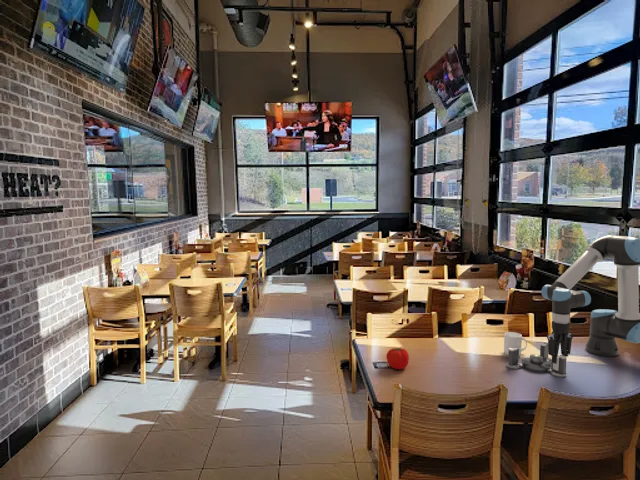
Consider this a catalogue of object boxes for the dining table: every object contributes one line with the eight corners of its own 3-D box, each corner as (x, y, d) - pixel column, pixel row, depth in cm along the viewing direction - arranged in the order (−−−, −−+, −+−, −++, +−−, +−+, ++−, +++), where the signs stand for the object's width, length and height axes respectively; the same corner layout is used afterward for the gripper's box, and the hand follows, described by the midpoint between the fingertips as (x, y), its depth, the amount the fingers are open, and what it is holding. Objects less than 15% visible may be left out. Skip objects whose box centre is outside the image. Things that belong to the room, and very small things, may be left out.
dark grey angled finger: (514, 361, 221) (515, 346, 220) (518, 362, 219) (519, 347, 218) (507, 364, 217) (508, 348, 216) (511, 365, 216) (512, 349, 215)
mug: (530, 356, 231) (531, 337, 230) (507, 356, 231) (508, 337, 230) (523, 350, 239) (523, 331, 238) (501, 350, 240) (501, 332, 239)
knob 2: (544, 360, 222) (544, 344, 221) (539, 359, 223) (540, 343, 222) (548, 357, 226) (549, 341, 225) (544, 355, 227) (544, 340, 226)
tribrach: (548, 358, 228) (548, 347, 227) (568, 377, 204) (569, 365, 204) (499, 357, 230) (499, 346, 230) (514, 376, 207) (514, 364, 206)
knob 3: (551, 369, 210) (551, 353, 209) (553, 368, 211) (554, 352, 210) (563, 374, 205) (564, 357, 204) (565, 373, 206) (566, 356, 205)
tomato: (410, 363, 224) (410, 344, 223) (407, 373, 212) (407, 353, 211) (388, 361, 227) (388, 342, 226) (384, 371, 215) (384, 351, 214)
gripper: (568, 317, 211) (566, 364, 213) (540, 320, 207) (539, 368, 209) (581, 322, 203) (578, 370, 206) (552, 325, 199) (550, 374, 202)
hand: (558, 368), depth 208 cm, fingers closed on knob 3, 3 cm apart
